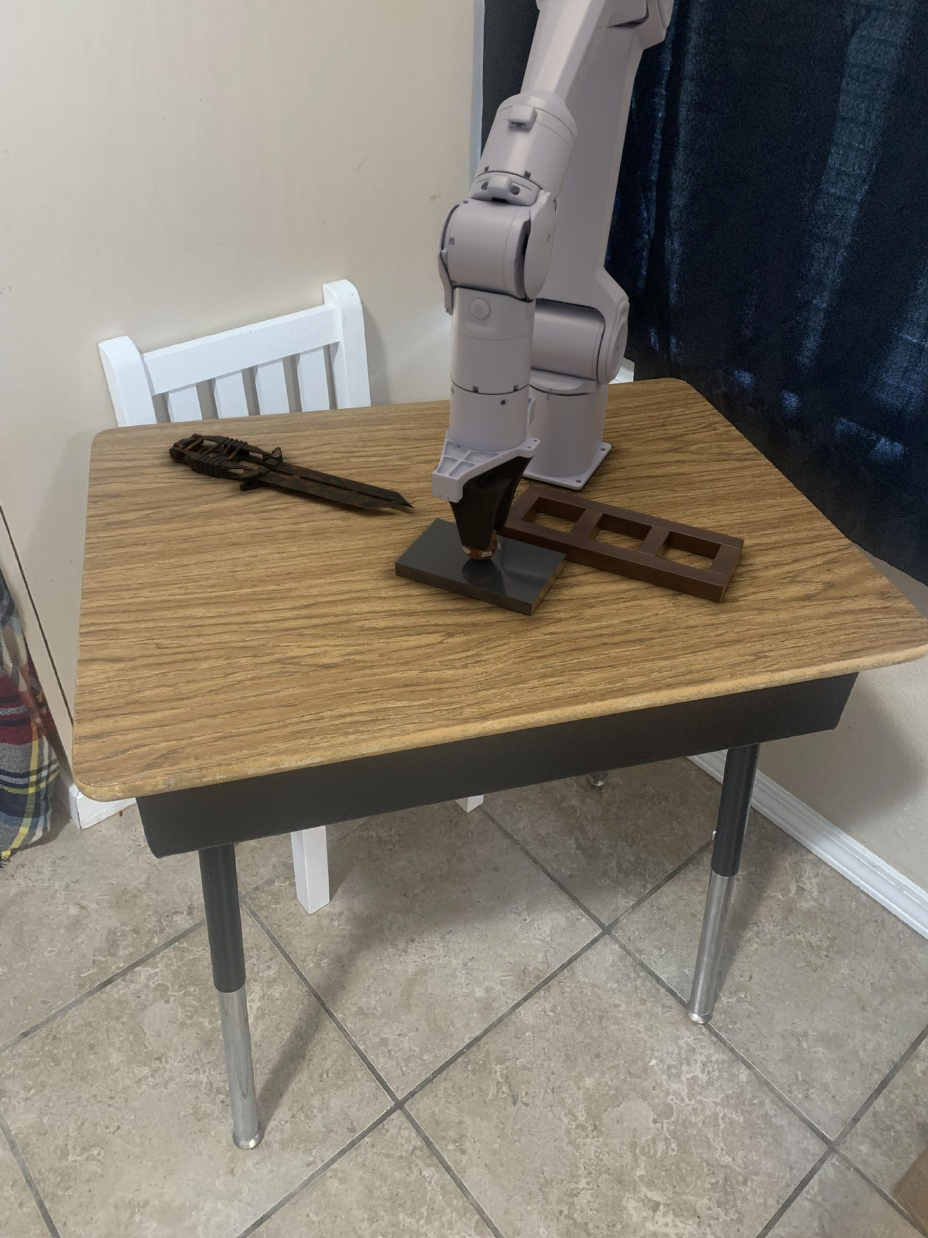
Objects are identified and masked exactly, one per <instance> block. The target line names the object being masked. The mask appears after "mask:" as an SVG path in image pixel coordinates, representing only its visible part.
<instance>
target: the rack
mask: <svg viewBox="0 0 928 1238" xmlns="http://www.w3.org/2000/svg"><path fill="white" fill-rule="evenodd" d="M538 512H540V513H543V514H547V515H551V516H555V517H559V518H562V519H567V520H570V521H574V522H575V524H574V525H573V526H572V528H571V529H570V531H568V532H567V531H564V530H563V531H562V530H558V529H555V528H553V527H552V528H551V527H547V526H544V525H540V524H537V523H533V522H531V521H532V520H533V519H534V517H535V516H536V514H537V513H538ZM601 529H603V530H607V531H610V532H615V533H620V534H622V535H626V536H630V537H633V538H638V539H642V540H643V541H642V543H641V544H640V546H639V548H638V550H637V551H636V550H632V549H628V548H625V547H621V546H618V545H614V544H610V543H608V542H607V543H606V542H603V541H599V540H595V538H596V537H597V535H598V534H599V532H600V531H601ZM495 534H496V535H499V536H503V537H506V538H510V539H514V540H517V541H521V542H524V543H528V544H531V545H535V546H539V547H542V548H546V549H549V550H553V551H556V552H560V553H564V554H566V561H571V562H575V563H577V564H582V565H585V566H589V567H592V568H595V569H599V570H602V571H606V572H609V573H613V574H616V575H620V576H625V577H627V578H631V579H634V580H639V581H642V582H645V583H649V584H653V585H656V586H660V587H663V588H667V589H670V590H674V591H678V592H681V593H685V594H688V595H691V596H696V597H698V598H702V599H705V600H708V601H709V600H710V601H713V602H717V603H721V601H722V598H723V596H724V594H725V592H726V590H727V587H728V586H729V583H730V580H731V579H732V576H733V574H734V572H735V569H736V567H737V565H738V562H739V560H740V558H741V556H742V552H743V548H744V544H745V539H744V538H739V537H735V536H732V535H728V534H725V533H720V532H717V531H713V530H709V529H705V528H701V527H698V526H693V525H689V524H685V523H681V522H678V521H674V520H670V519H666V518H663V517H658V516H654V515H651V514H647V513H643V512H639V511H635V510H632V509H627V508H623V507H619V506H616V505H612V504H608V503H604V502H601V501H596V500H593V499H589V498H586V497H581V496H577V495H574V494H569V493H565V492H562V491H558V490H554V489H550V488H546V487H542V486H539V485H534V484H528V486H527V487H526V488H525V489H524V490H523V491H522V493H521V494H520V495H519V496H518V497H517V499H516V500H515V501H514V502H513V503H512V505H511V508H510V511H509V515H508V518H507V521H506V523H505V526H504V528H503V529H502V530H501V532H499V531H496V530H495ZM667 547H671V548H674V549H678V550H684V551H687V552H690V553H693V554H696V555H701V556H705V557H709V558H711V559H713V561H712V563H711V565H710V567H709V570H706V569H702V568H698V567H696V566H695V567H694V566H691V565H688V564H685V563H684V564H683V563H680V562H676V561H672V560H670V559H665V558H662V556H663V554H664V553H665V551H666V549H667Z"/></svg>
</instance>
